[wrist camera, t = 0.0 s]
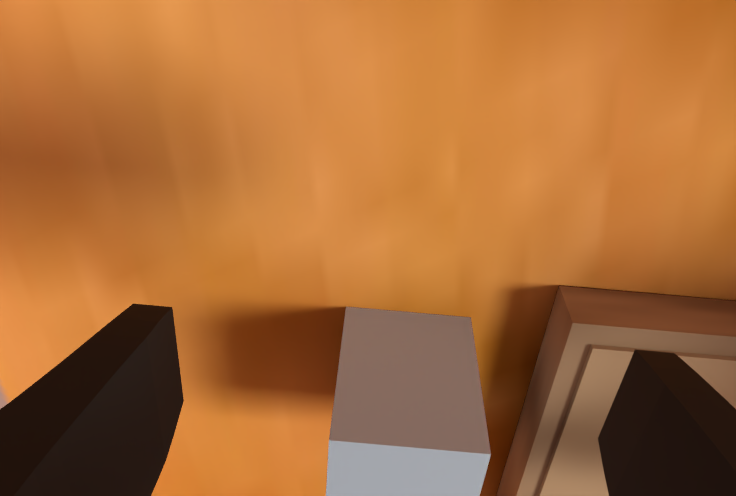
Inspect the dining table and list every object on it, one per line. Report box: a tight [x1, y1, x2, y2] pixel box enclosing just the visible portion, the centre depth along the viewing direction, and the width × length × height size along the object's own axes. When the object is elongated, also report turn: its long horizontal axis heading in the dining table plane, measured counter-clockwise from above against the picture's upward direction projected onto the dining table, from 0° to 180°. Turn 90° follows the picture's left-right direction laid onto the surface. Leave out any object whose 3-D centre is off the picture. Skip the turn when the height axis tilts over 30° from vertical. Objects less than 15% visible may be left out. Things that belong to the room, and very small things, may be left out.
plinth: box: [496, 286, 736, 496], centre depth 23 cm, size 12×12×2 cm
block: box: [326, 307, 491, 496], centre depth 21 cm, size 4×4×6 cm
